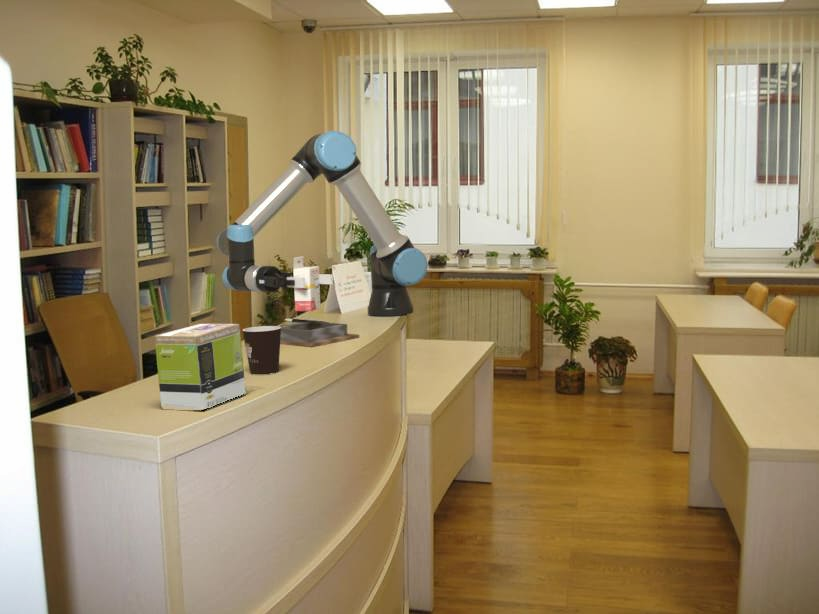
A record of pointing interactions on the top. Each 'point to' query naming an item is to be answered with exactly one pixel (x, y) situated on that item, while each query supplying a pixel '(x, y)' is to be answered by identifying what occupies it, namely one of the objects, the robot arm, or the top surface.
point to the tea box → (200, 365)
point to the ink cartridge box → (307, 286)
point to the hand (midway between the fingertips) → (318, 281)
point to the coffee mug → (263, 348)
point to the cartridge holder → (314, 334)
